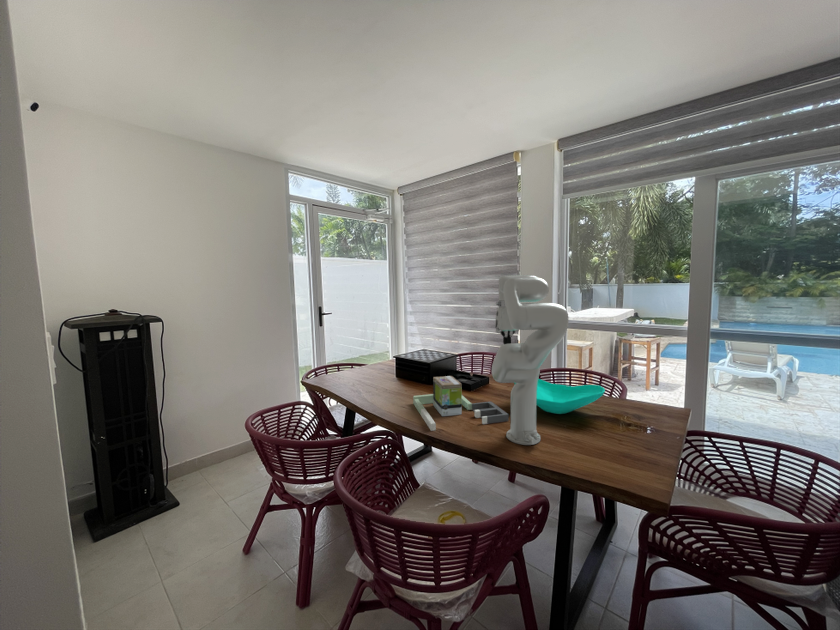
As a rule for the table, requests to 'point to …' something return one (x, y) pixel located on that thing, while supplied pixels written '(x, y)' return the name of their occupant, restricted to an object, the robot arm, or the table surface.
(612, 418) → the table surface
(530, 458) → the table surface
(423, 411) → the lane
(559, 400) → the table top decor
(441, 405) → the tea box
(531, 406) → the robot arm
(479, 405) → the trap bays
